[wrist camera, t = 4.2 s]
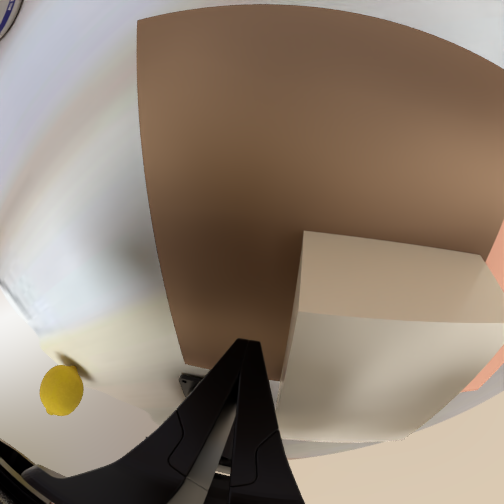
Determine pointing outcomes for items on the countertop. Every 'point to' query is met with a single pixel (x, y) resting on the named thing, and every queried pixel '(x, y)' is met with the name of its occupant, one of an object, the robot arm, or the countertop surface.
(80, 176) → the countertop surface
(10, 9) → the energy drink
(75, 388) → the lemon
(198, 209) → the board
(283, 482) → the robot arm
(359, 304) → the cream rectangular block
